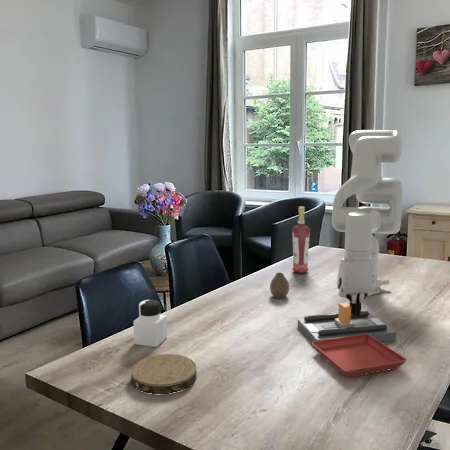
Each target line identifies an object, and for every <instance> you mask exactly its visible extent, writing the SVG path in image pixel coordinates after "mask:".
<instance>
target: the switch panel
mask: <svg viewBox="0 0 450 450" xmlns="http://www.w3.org/2000/svg"><path fill="white" fill-rule="evenodd" d="M338 317H339V312H338V313H329V314H328V313H327V314H314V315H306V316H304V317H302V318H297V327H298V329H299V330H300V331H301V332H302V333H303V334H304V335H305V337H306V338H307V339H308V340H309V341H310V342H311V343H312V342H315V341H321V340H328V339H335V338H341V337H348V336H355V335H362V334H369V335H371V336H372V337H374V338H375V339H377V340H378V341H380V342H381V343H383V342H382V341H386V342H392V341H391V340H396V341H397V332H396V331H395V330H393V328H391V327H390V326H388V325H387V324H386V323H385V322H383V321H381V320H380V318H377V316H375V315H374V314H372V313H371V312H369V311H368V310H363V311H362V310H361V312H360V316H353V315H352V314H351V321H352V322H353V323H354V327H349V328H340V327H339V326H338V325H337V324H336V323H335V318H338Z"/></svg>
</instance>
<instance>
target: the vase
mask: <svg viewBox="0 0 450 450" xmlns="http://www.w3.org/2000/svg"><path fill="white" fill-rule="evenodd" d="M289 290H290V283H289V281H288V279H287V278H286V276H285V275H284V273H283V272H276V273H275V276H274V277H273V278H272V279H271V281H270V283H269V291H270V293H271V295H272V296H273V297H274V298H275V299H284V298H286V297H287V295H289Z"/></svg>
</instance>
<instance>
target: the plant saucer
mask: <svg viewBox="0 0 450 450" xmlns="http://www.w3.org/2000/svg"><path fill="white" fill-rule="evenodd" d="M311 344H312V346H313V348H314V349H315V350H316V351H317V353H318V354H319V355H320V356H321V357H323V358H324V359H325V360H326V361H327V360H328V361H327V362H328V363H329V364H331V365H332V366H333V367H334V366H335V367H334V368H335V369H337V370H338V372H340V373H341V374H342V373H343V374H342V375H344V376H345V377H346V376H347V377H346V378H351V377H350V376H354V377H356V376H355V375H359V376H362V375H361V374H365V375H367V374H366V373H371V374H373V373H372V372H376V373H378V372H377V371H382V372H384V371H383V370H388V369H394V370H396V369H398V368H400V367H401V366H402V365H403V364H405V363H406V362H407V358H405V357H404V355H403V356H402V355H401V354H400V353H398V352H396V351H395V350H393V349H392V348H390V346H388V345H386V344H384V342H380V341H378V340H377V339H375V338H374V337H372V336H371V335H369V334H362V335H355V336H348V337H341V338H335V339H328V340H321V341H315V342H311ZM395 368H396V369H395ZM388 371H389V370H388Z"/></svg>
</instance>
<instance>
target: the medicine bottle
mask: <svg viewBox="0 0 450 450" xmlns="http://www.w3.org/2000/svg"><path fill="white" fill-rule="evenodd" d="M138 313H139V314H138V315H139V316H138V317H137V318H136V319H134V320H133V323H132V324H133V338H134V339H133V341H134V345H138V346H143V347H150V348H151V347H152V348H157V347H159V345H160V344H162V343H163V342H164V341H165V340H166V339H168V329H167V327H168V326H167V324H168V323H167V315H166V314H161V302H160V301H158V300H156V299H146V300H142V301H140V302H139V304H138Z"/></svg>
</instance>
